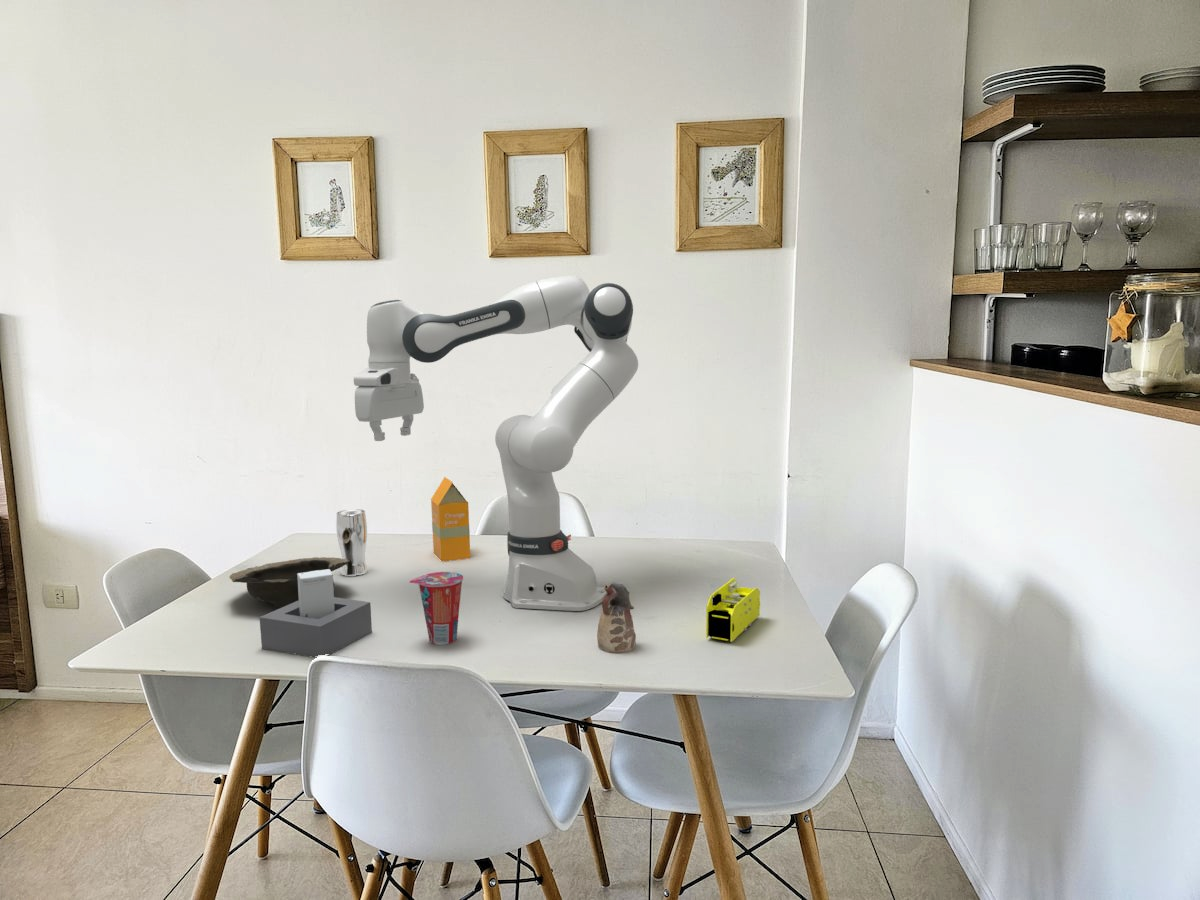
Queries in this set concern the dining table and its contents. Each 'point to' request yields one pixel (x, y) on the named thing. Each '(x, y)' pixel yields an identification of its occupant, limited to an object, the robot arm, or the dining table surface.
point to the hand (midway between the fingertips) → (393, 437)
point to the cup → (441, 605)
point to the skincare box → (316, 593)
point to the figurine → (616, 621)
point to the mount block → (315, 628)
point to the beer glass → (352, 540)
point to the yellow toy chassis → (731, 611)
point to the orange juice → (450, 523)
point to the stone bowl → (282, 578)
